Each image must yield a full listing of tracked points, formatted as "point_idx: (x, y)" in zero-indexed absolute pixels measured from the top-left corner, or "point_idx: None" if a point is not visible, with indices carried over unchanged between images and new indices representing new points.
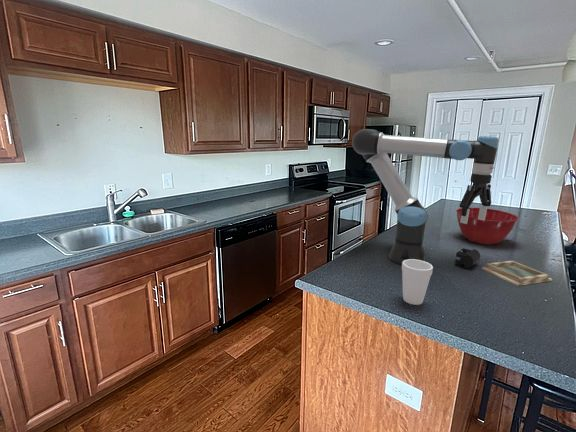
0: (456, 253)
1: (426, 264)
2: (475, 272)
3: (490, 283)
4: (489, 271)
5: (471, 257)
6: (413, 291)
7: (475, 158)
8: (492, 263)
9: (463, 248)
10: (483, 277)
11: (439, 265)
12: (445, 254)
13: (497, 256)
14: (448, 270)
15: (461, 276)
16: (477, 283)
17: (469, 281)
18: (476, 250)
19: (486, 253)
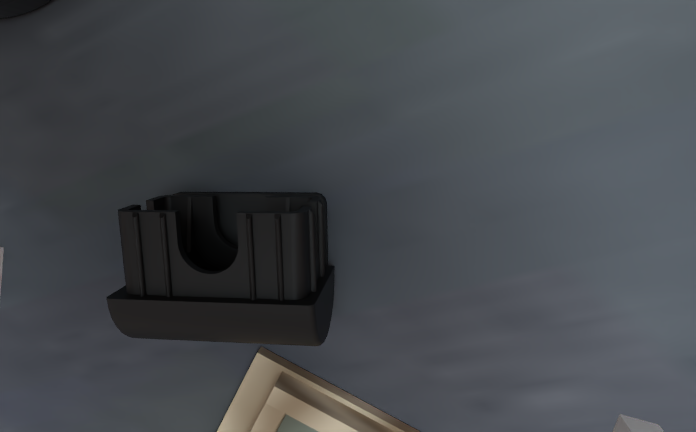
0: (118, 211)
1: None
2: None
3: (79, 428)
4: (233, 399)
5: (121, 331)
6: None
7: None
8: (311, 415)
9: (276, 221)
10: (131, 383)
11: (87, 113)
12: (366, 43)
13: (666, 373)
14: (55, 194)
15: (35, 285)
16: (18, 377)
17: (6, 339)
18: (298, 329)
19: (686, 290)
